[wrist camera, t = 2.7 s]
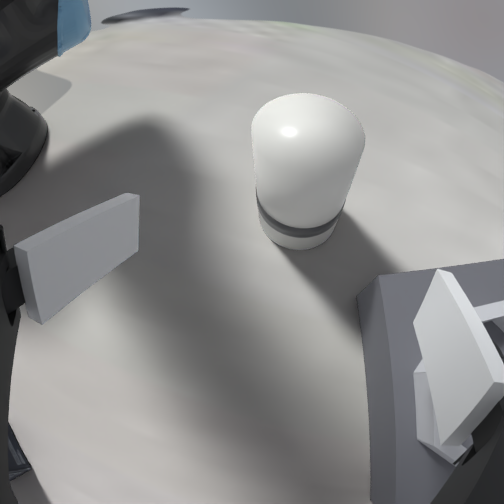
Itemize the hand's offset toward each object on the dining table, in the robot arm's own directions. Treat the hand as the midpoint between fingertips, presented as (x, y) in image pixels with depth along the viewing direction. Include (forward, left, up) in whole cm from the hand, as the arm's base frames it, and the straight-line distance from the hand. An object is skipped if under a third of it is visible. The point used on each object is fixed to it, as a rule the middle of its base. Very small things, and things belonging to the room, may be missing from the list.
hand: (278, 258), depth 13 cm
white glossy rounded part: (-9, +3, -13) cm, 16 cm away
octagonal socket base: (+8, +14, -13) cm, 21 cm away
